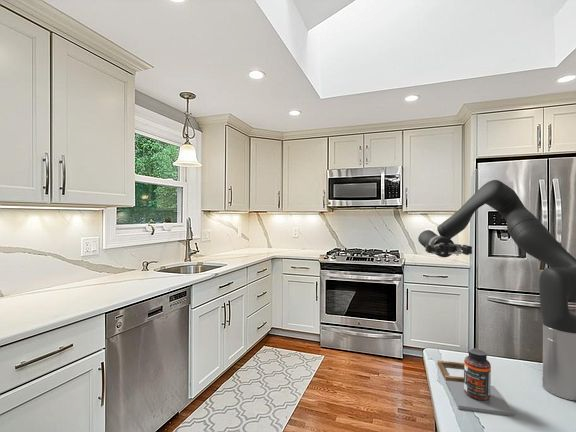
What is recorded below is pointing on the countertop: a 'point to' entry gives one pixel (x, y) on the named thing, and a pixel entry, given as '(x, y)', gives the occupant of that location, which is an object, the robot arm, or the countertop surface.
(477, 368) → the supplement bottle
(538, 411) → the countertop surface
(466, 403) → the plate
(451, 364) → the walnut frame
